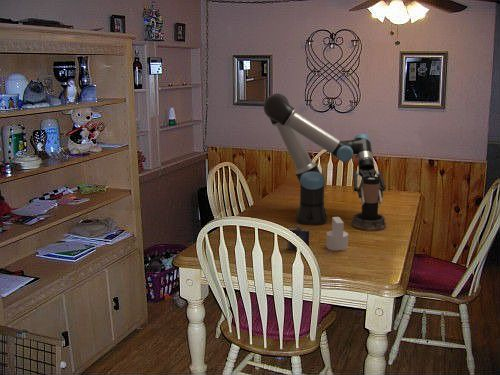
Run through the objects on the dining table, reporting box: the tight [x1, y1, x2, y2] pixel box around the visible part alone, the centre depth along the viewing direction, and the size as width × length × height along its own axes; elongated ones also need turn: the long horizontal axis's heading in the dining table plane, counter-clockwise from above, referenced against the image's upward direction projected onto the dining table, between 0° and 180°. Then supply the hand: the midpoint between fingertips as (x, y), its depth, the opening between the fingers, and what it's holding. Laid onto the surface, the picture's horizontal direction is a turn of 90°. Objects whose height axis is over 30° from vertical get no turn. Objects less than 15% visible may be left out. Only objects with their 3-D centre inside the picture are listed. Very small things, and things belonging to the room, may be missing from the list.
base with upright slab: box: [325, 216, 349, 251], centre depth 232 cm, size 9×9×12 cm
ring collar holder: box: [351, 212, 387, 232], centre depth 262 cm, size 16×16×4 cm
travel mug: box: [361, 176, 380, 221], centre depth 259 cm, size 8×8×20 cm
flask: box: [286, 224, 310, 251], centre depth 229 cm, size 9×3×11 cm, turn 72°
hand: (371, 203), depth 256 cm, fingers closed on travel mug, 7 cm apart
